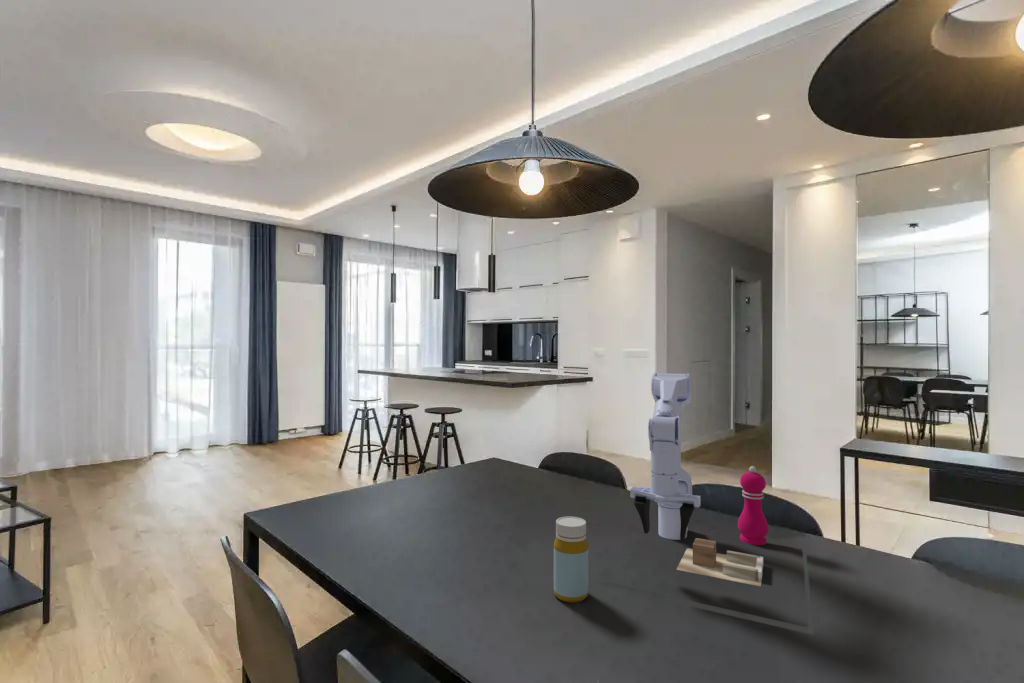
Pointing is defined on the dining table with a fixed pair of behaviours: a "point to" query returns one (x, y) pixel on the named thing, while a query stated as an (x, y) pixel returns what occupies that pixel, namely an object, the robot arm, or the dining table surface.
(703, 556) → the block
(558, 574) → the bottle
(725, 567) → the board
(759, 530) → the pepper mill
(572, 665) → the dining table surface
